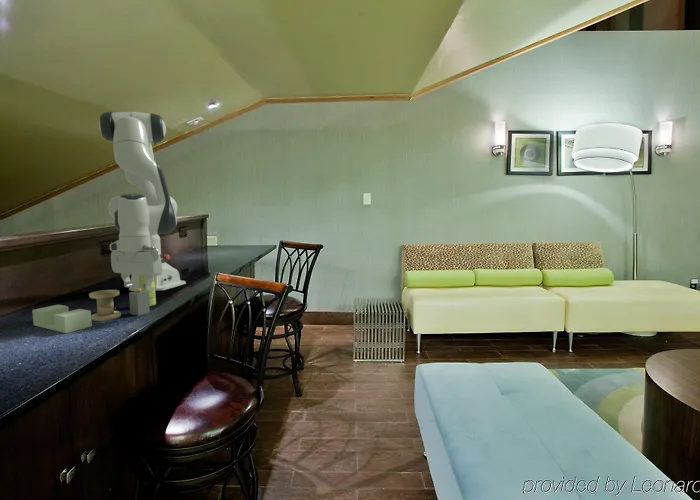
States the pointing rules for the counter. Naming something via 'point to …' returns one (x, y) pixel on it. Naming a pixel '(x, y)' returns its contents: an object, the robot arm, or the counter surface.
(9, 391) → the counter surface
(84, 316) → the notch board
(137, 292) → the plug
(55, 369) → the counter surface
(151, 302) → the tube
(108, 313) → the bobbin
